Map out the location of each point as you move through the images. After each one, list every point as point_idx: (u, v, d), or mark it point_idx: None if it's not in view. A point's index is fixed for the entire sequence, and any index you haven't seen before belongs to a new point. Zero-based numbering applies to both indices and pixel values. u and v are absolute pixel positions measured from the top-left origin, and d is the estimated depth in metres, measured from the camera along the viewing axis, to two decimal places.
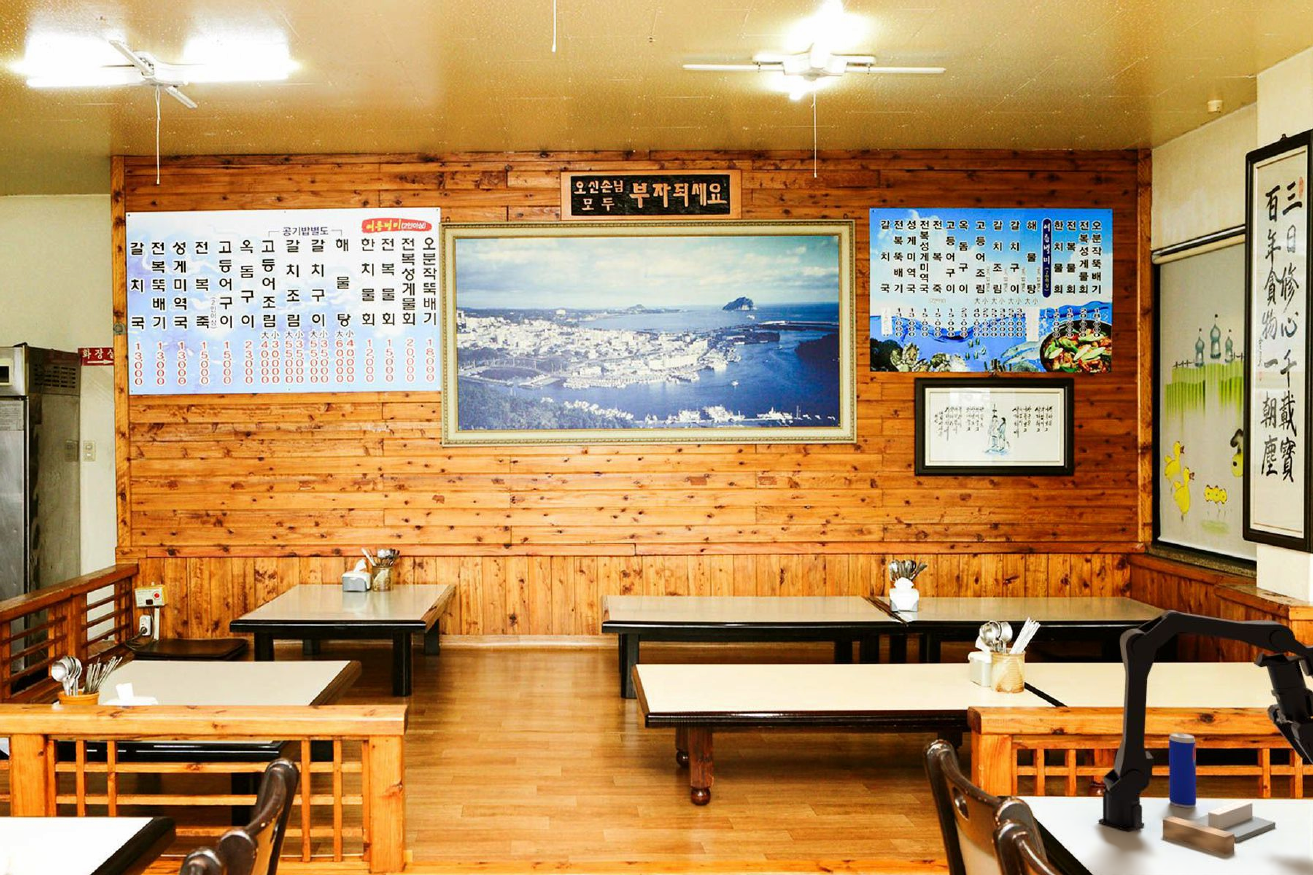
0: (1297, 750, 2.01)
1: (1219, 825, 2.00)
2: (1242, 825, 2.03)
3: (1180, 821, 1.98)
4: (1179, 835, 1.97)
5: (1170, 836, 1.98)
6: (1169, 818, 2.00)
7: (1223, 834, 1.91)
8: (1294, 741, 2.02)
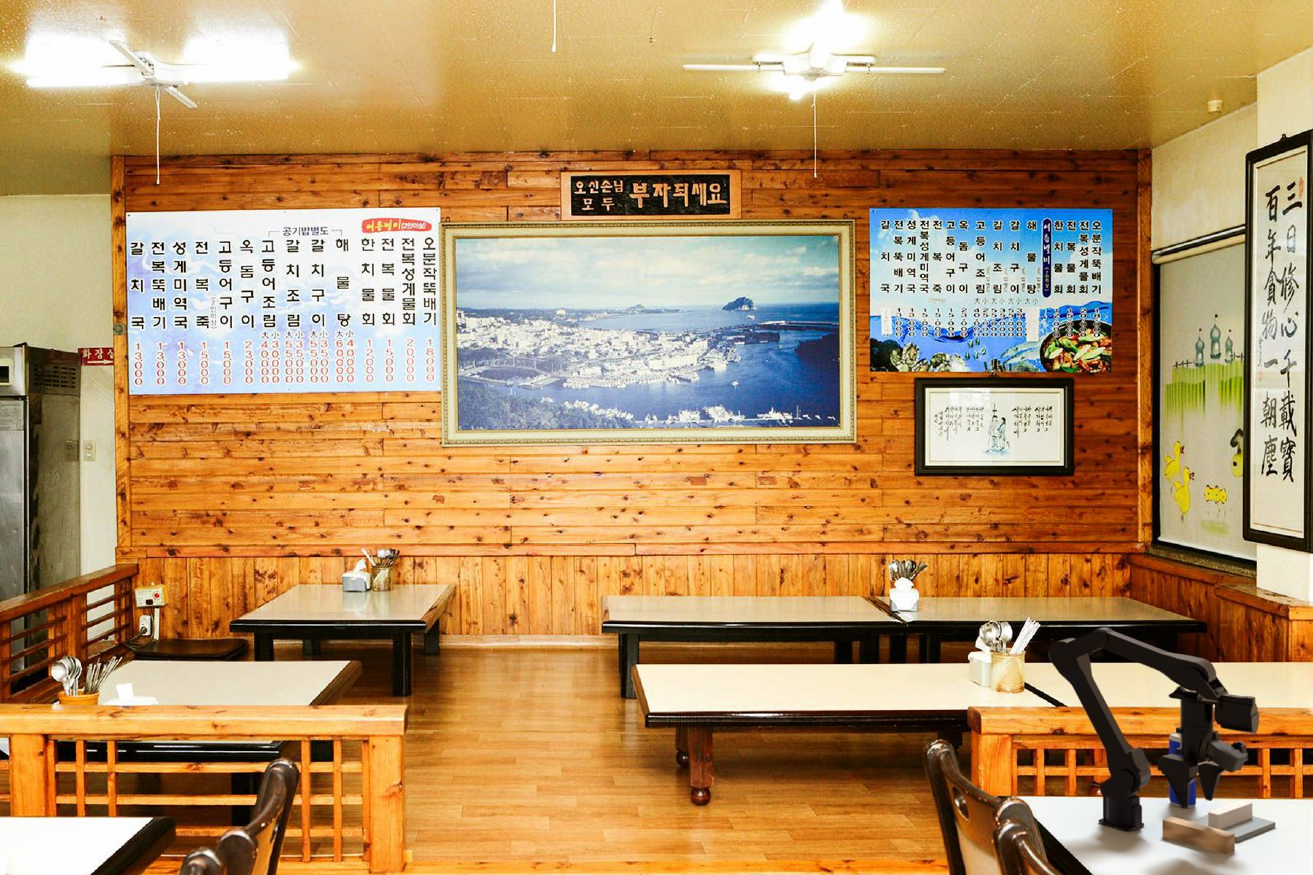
0: (1204, 791, 1.99)
1: (1219, 825, 2.00)
2: (1242, 825, 2.03)
3: (1180, 821, 1.98)
4: (1179, 835, 1.96)
5: (1170, 836, 1.98)
6: (1168, 818, 2.00)
7: (1224, 834, 1.91)
8: (1204, 782, 1.99)
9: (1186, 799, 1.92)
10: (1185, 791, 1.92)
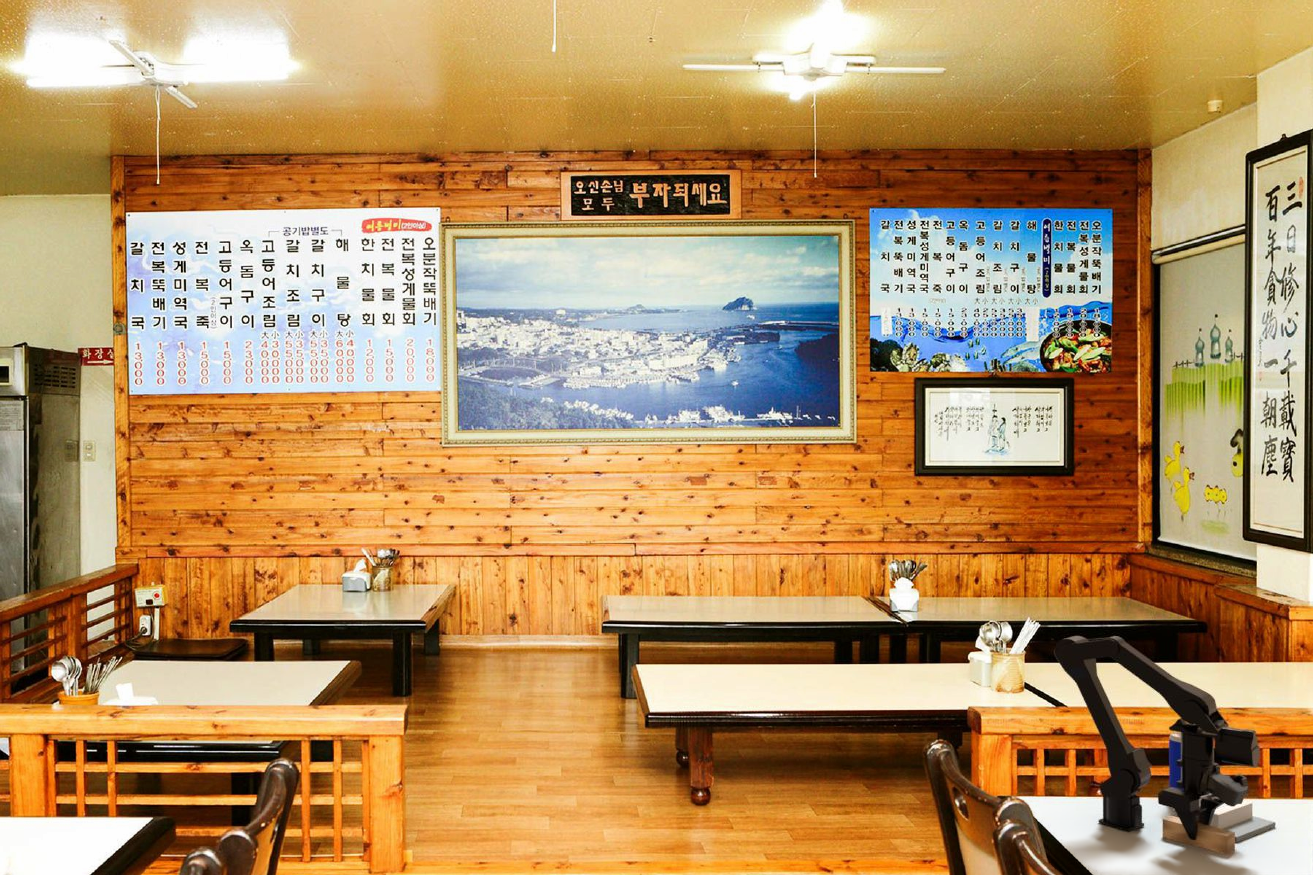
0: None
1: (1219, 825, 2.00)
2: (1242, 825, 2.03)
3: None
4: (1179, 834, 1.96)
5: (1170, 836, 1.98)
6: (1168, 818, 2.00)
7: (1224, 833, 1.91)
8: (1199, 817, 1.97)
9: (1194, 830, 1.93)
10: (1193, 822, 1.93)
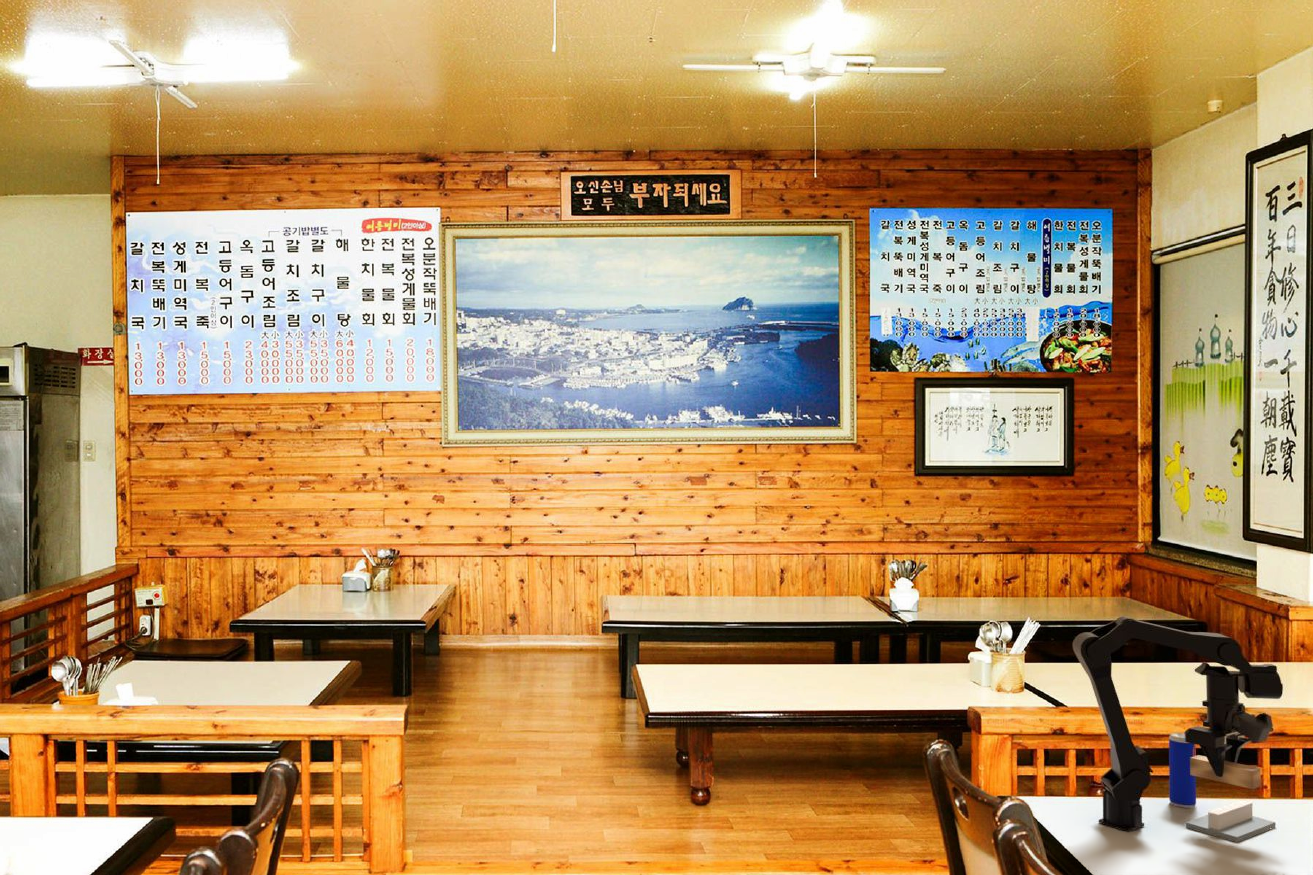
0: None
1: (1219, 825, 2.00)
2: (1242, 825, 2.03)
3: None
4: (1206, 772, 2.03)
5: (1198, 773, 2.05)
6: (1196, 757, 2.07)
7: (1250, 769, 1.98)
8: (1225, 755, 2.04)
9: (1220, 767, 2.00)
10: (1219, 759, 2.00)
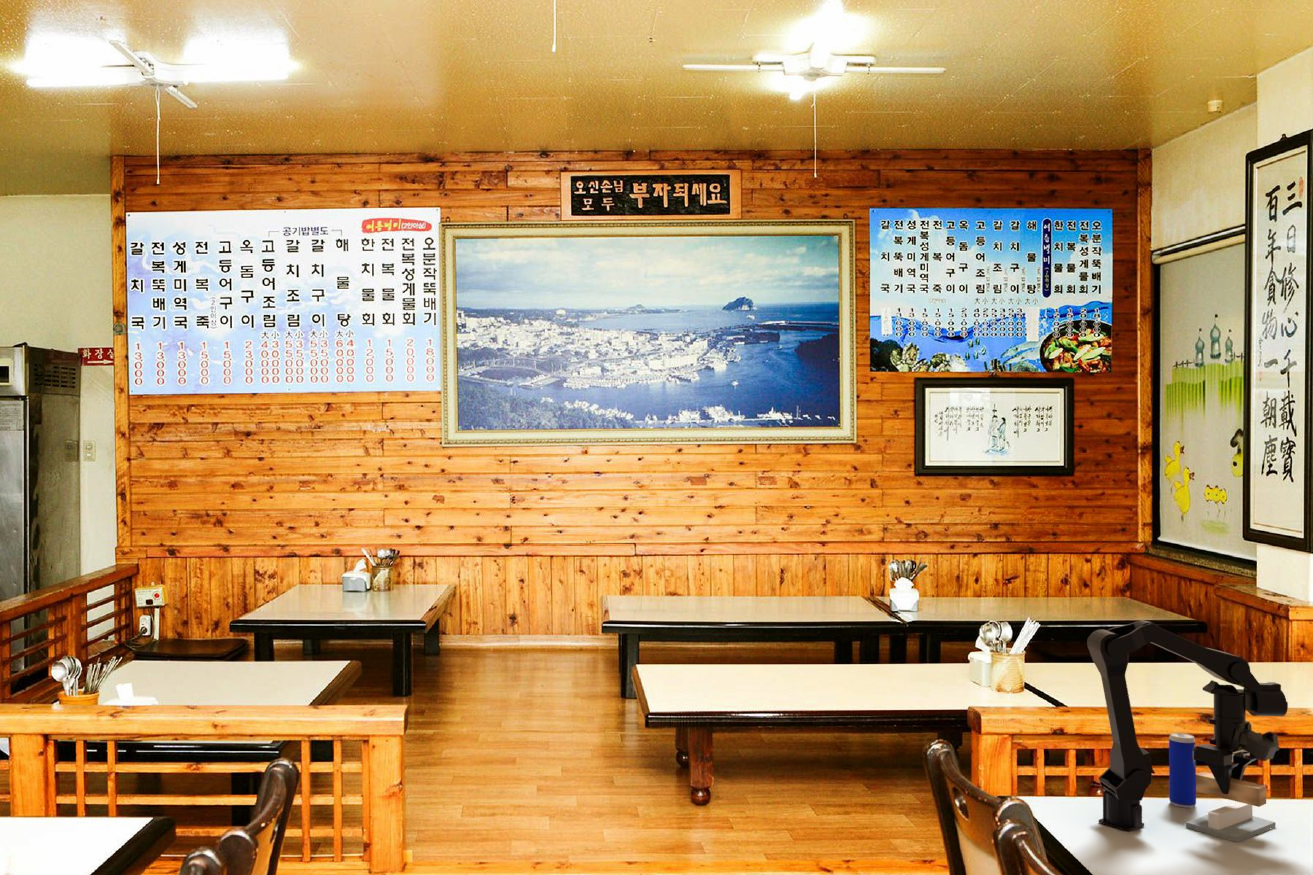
0: None
1: (1219, 825, 2.00)
2: (1242, 825, 2.03)
3: None
4: (1212, 789, 2.06)
5: (1203, 790, 2.07)
6: (1201, 773, 2.09)
7: (1256, 786, 2.00)
8: (1230, 773, 2.07)
9: (1227, 785, 2.03)
10: (1226, 777, 2.02)
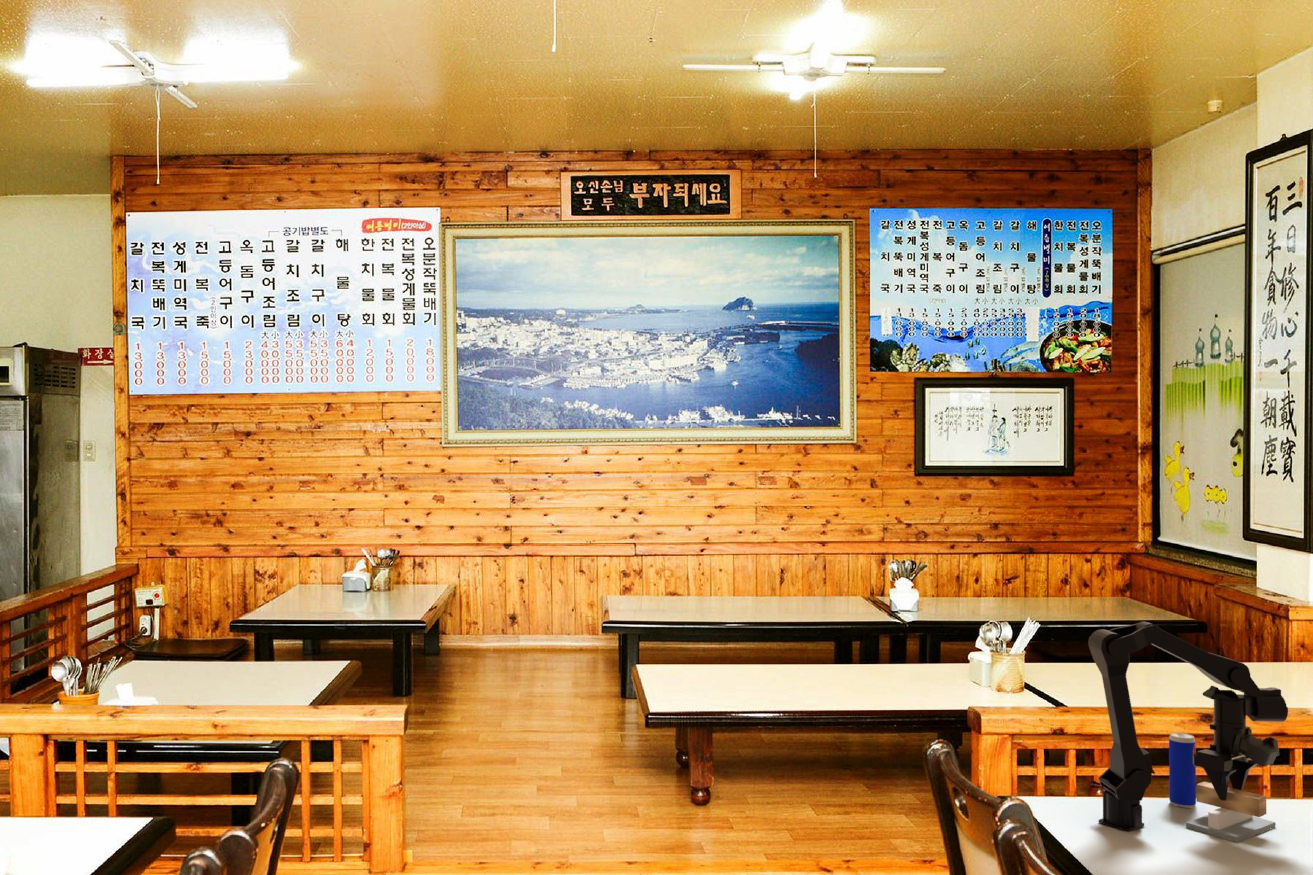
0: (1233, 786, 2.07)
1: (1219, 825, 2.00)
2: (1242, 825, 2.03)
3: None
4: (1212, 799, 2.06)
5: (1204, 800, 2.07)
6: (1202, 783, 2.09)
7: (1256, 797, 2.00)
8: (1233, 777, 2.07)
9: (1224, 791, 2.02)
10: (1223, 783, 2.02)
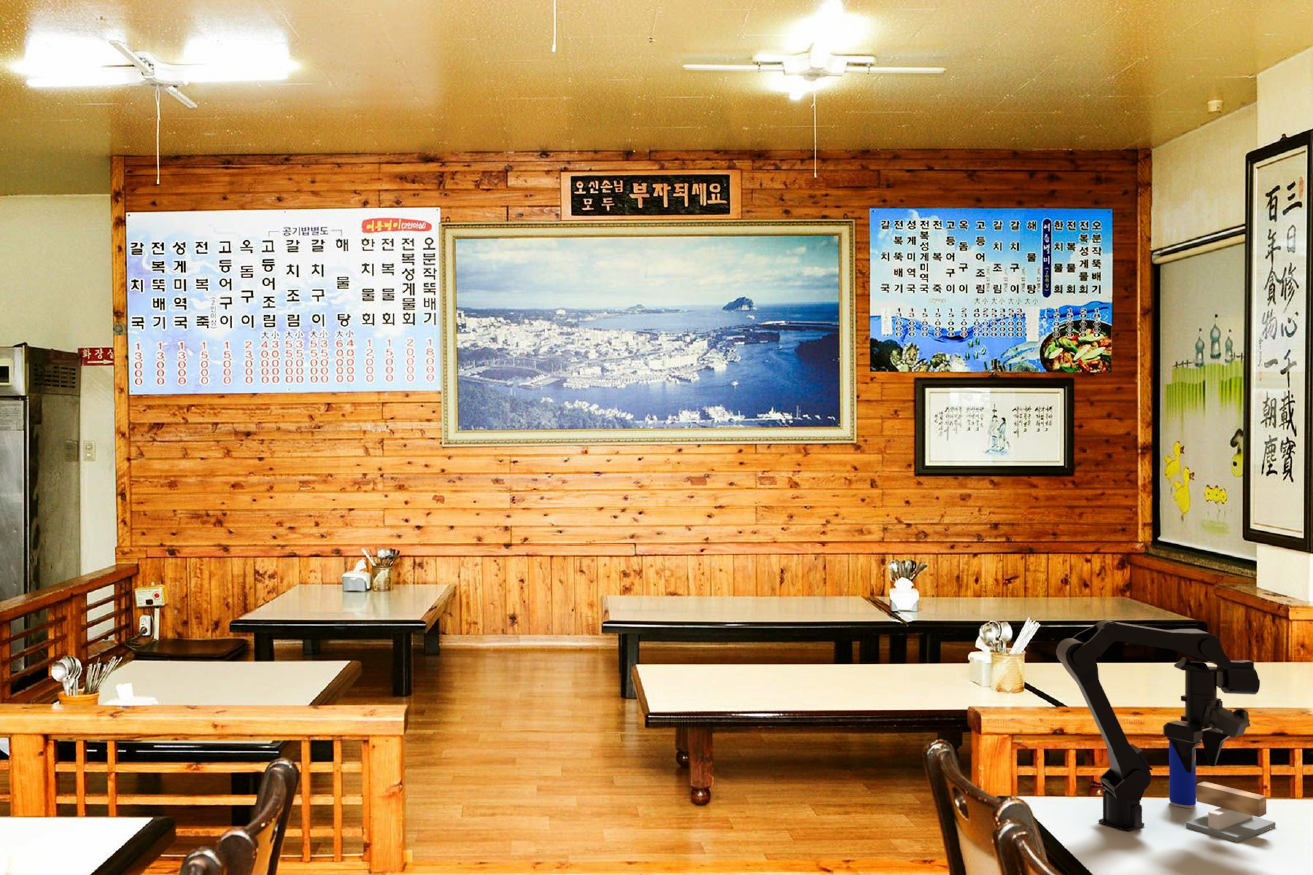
0: (1207, 757, 2.07)
1: (1219, 825, 2.00)
2: (1242, 825, 2.03)
3: (1213, 785, 2.08)
4: (1212, 799, 2.06)
5: (1204, 800, 2.07)
6: (1202, 783, 2.09)
7: (1256, 797, 2.00)
8: (1208, 748, 2.08)
9: (1190, 763, 2.01)
10: (1189, 756, 2.00)
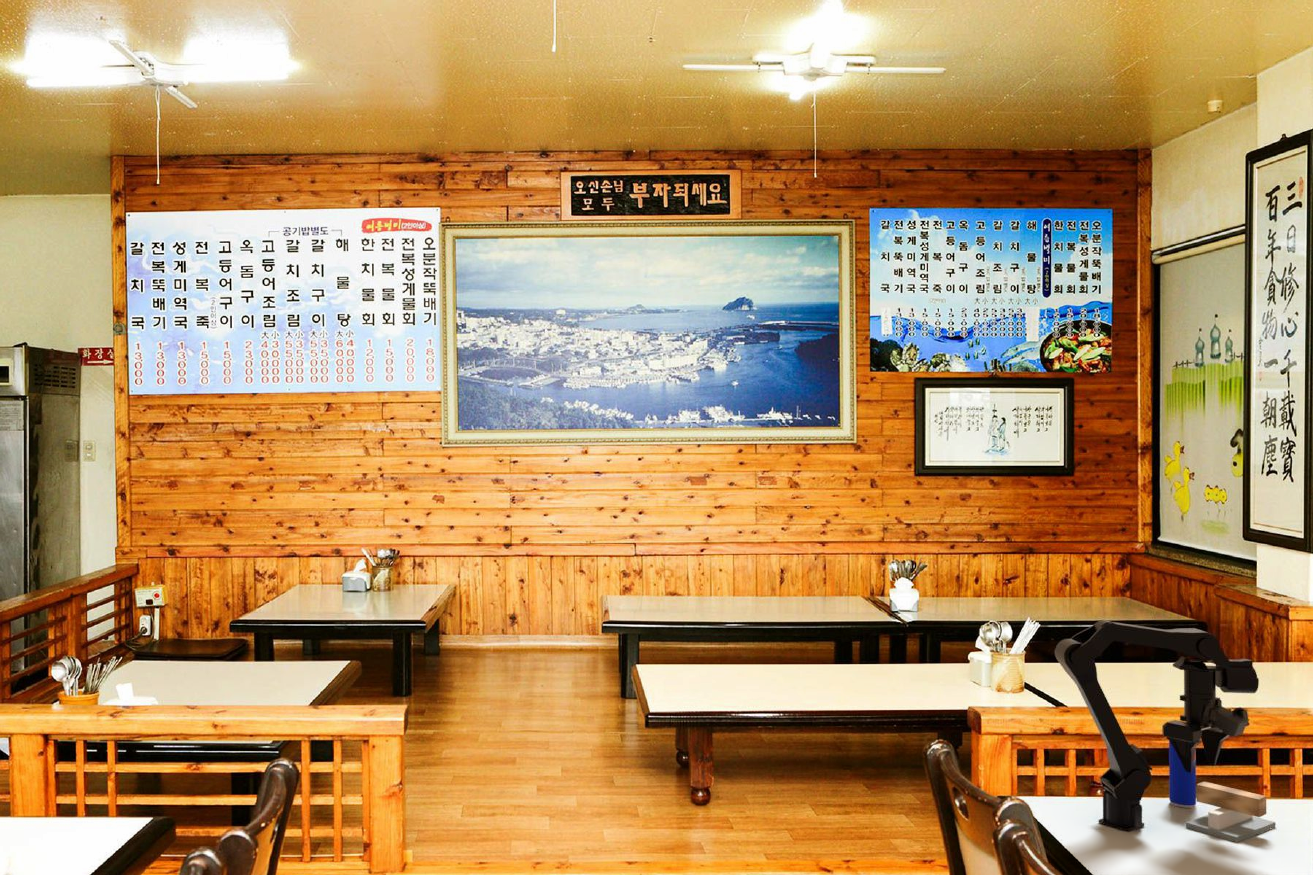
0: (1207, 756, 2.07)
1: (1219, 825, 2.00)
2: (1242, 825, 2.03)
3: (1213, 785, 2.08)
4: (1212, 799, 2.06)
5: (1204, 800, 2.07)
6: (1202, 783, 2.09)
7: (1256, 797, 2.00)
8: (1208, 748, 2.08)
9: (1190, 763, 2.01)
10: (1189, 755, 2.00)
